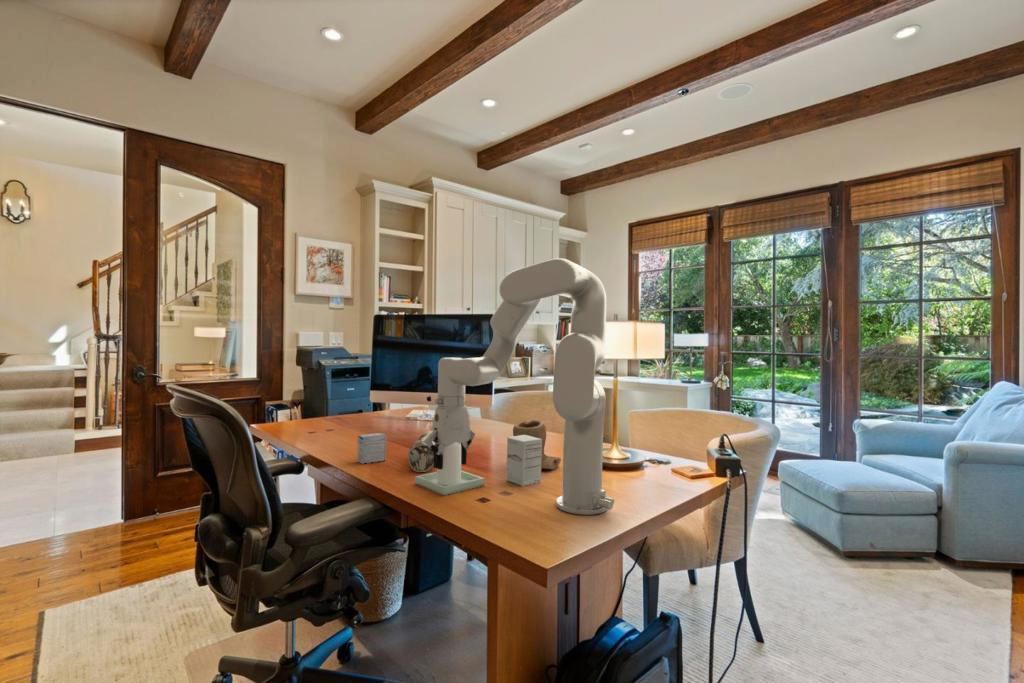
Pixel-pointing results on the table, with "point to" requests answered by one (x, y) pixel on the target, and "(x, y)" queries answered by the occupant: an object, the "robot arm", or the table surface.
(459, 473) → the can
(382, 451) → the medicine box
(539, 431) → the brown boot
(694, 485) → the table surface
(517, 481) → the supplement box
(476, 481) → the tray
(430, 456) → the pencil case
